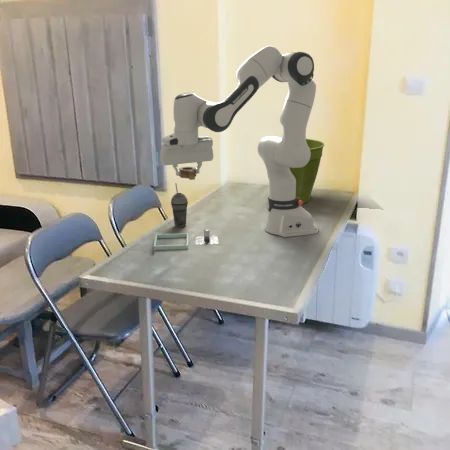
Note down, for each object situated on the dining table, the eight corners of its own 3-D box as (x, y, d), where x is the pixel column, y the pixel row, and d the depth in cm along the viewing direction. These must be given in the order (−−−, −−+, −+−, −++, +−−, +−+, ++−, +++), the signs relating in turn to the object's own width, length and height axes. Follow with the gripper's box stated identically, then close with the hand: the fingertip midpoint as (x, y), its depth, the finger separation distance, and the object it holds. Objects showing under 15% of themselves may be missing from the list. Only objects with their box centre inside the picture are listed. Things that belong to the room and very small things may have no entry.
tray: (188, 238, 214) (188, 233, 213) (188, 251, 202) (188, 245, 201) (156, 239, 213) (155, 234, 212) (153, 252, 201) (153, 246, 200)
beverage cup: (186, 231, 222) (184, 185, 216) (169, 230, 224) (167, 185, 217) (190, 225, 229) (189, 181, 222) (174, 224, 230) (172, 180, 224)
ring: (177, 175, 201) (177, 167, 200) (192, 173, 203) (192, 166, 202) (185, 180, 194) (184, 172, 193) (200, 178, 196) (200, 170, 195)
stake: (217, 237, 214) (217, 226, 213) (218, 246, 206) (218, 233, 204) (195, 238, 214) (195, 226, 212) (195, 246, 206) (195, 234, 204)
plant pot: (253, 205, 256) (254, 146, 247) (272, 189, 282) (273, 136, 273) (313, 211, 246) (316, 150, 236) (327, 194, 272) (330, 139, 262)
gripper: (209, 134, 201) (210, 169, 206) (157, 138, 194) (159, 175, 199) (215, 137, 196) (216, 173, 200) (162, 141, 188) (164, 179, 193)
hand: (187, 174), depth 199 cm, fingers closed on ring, 6 cm apart
